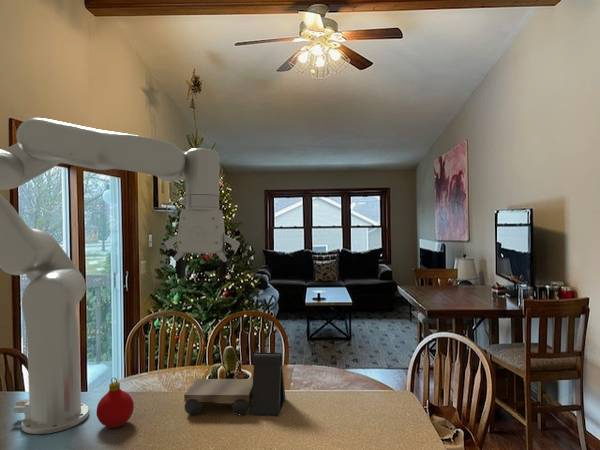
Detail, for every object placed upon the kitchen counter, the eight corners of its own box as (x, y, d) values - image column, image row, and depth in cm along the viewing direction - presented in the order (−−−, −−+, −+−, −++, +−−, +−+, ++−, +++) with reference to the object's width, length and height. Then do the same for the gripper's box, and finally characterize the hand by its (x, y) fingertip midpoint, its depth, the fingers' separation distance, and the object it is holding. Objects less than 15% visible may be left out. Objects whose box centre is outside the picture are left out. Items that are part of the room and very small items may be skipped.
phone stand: (278, 416, 92) (277, 360, 92) (250, 415, 93) (249, 359, 93) (285, 398, 101) (284, 347, 101) (260, 397, 102) (259, 347, 102)
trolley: (184, 415, 94) (184, 394, 93) (197, 397, 103) (196, 378, 102) (249, 415, 93) (248, 395, 93) (255, 397, 102) (255, 379, 102)
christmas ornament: (89, 430, 88) (87, 381, 88) (117, 415, 95) (115, 369, 94) (114, 437, 85) (112, 386, 85) (141, 421, 92) (140, 374, 91)
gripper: (159, 202, 96) (158, 279, 97) (236, 203, 95) (235, 281, 95) (171, 203, 104) (170, 275, 104) (243, 204, 103) (242, 276, 103)
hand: (201, 278), depth 100 cm, fingers open, 9 cm apart
